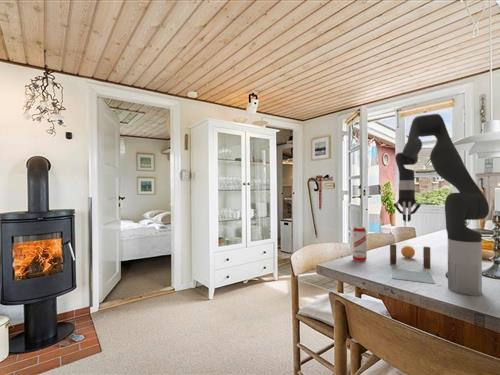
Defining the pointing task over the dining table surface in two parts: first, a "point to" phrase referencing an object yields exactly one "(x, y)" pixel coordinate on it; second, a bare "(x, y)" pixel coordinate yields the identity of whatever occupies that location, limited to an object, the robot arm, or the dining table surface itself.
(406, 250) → the ball
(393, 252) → the left post
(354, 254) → the beer can
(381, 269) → the dining table surface
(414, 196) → the robot arm
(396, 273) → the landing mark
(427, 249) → the right post
